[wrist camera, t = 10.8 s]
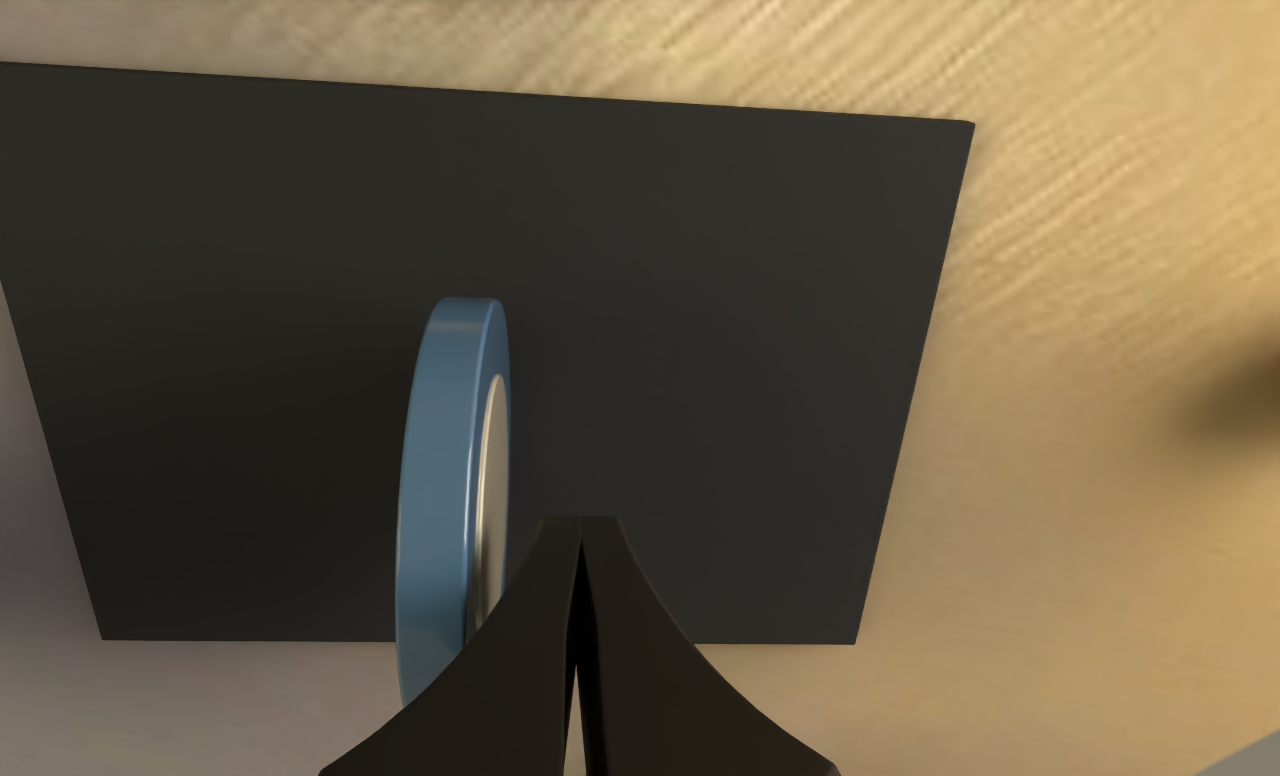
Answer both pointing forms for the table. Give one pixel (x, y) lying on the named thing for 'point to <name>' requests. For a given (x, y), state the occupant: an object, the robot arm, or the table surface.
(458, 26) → the table surface
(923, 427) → the table surface
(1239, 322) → the table surface
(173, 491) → the placemat
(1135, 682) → the table surface
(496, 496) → the plate
